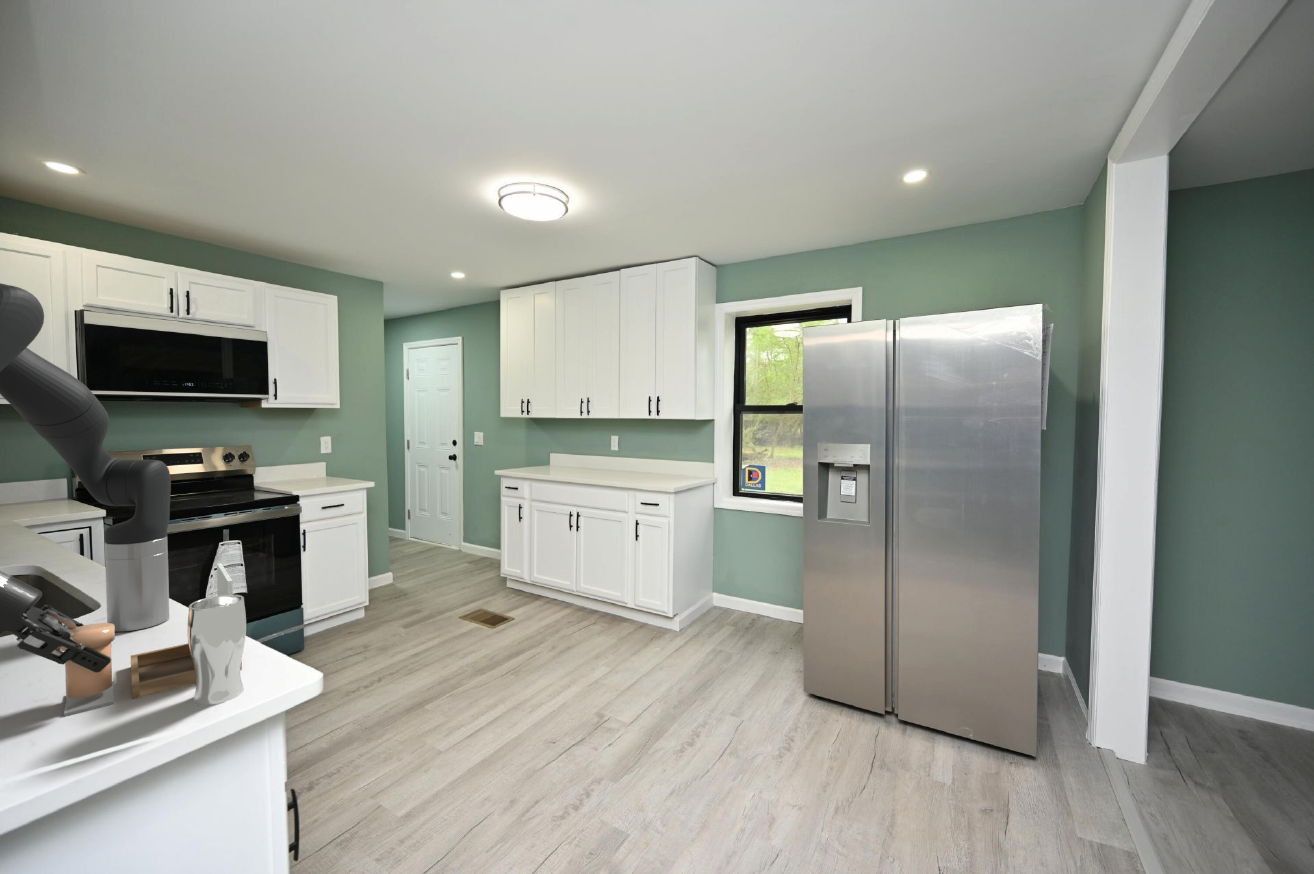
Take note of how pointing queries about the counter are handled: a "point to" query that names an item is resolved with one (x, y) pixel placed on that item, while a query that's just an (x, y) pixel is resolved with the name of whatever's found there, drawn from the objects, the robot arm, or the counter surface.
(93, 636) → the peach mushroom shaped stopper
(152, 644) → the counter surface
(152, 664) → the open wooden box
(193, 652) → the beer glass
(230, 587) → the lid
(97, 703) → the tile
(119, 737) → the counter surface
